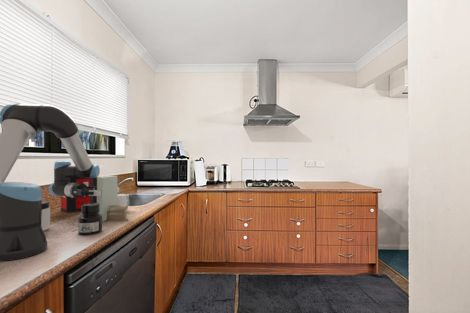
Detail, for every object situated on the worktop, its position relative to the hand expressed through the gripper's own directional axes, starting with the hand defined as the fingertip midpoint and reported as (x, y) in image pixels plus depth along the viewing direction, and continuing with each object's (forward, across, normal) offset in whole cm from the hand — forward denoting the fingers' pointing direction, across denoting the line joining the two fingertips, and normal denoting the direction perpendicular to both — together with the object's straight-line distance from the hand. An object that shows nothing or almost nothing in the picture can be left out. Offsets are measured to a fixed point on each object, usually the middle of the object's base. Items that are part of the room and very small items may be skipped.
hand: (110, 191), depth 132 cm
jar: (-16, +25, -14) cm, 33 cm away
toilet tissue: (-8, -14, -14) cm, 22 cm away
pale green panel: (-1, 0, -14) cm, 14 cm away
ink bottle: (+9, +22, -14) cm, 28 cm away
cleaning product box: (-34, -14, -14) cm, 40 cm away
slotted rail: (-1, 0, -14) cm, 14 cm away
